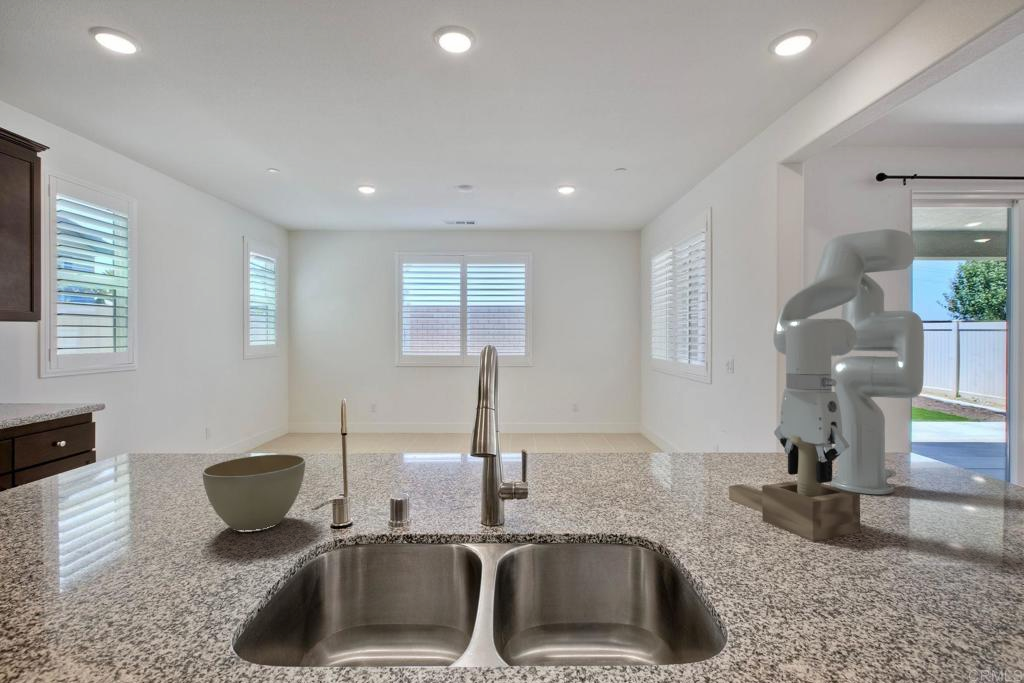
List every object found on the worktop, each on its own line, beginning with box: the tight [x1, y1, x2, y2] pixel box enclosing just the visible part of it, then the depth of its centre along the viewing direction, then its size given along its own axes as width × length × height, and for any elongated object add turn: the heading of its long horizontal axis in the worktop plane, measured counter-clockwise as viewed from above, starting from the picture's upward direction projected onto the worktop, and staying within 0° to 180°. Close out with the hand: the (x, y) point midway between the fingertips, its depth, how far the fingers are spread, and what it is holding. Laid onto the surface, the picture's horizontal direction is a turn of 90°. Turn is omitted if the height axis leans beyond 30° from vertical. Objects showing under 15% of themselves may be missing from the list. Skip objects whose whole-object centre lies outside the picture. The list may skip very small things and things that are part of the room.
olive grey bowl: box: [202, 453, 306, 531], centre depth 99 cm, size 18×18×12 cm
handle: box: [790, 436, 821, 497], centre depth 97 cm, size 5×6×15 cm
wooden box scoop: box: [728, 480, 861, 542], centre depth 102 cm, size 12×24×7 cm, turn 20°
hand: (809, 476), depth 96 cm, fingers open, 5 cm apart
